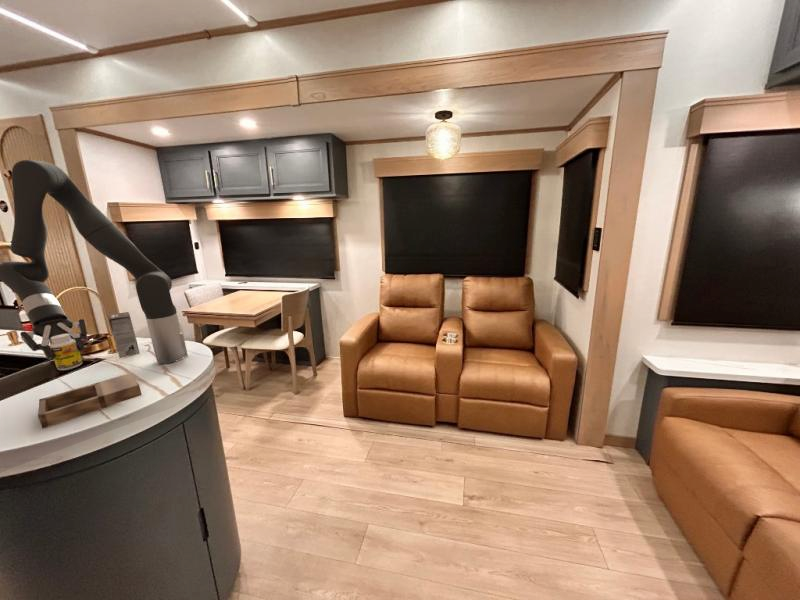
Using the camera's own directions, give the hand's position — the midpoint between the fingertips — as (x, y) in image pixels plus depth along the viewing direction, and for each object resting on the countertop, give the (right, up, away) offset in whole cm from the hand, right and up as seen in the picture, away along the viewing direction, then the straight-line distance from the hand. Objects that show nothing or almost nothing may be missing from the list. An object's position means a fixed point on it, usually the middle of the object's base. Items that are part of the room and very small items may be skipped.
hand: (67, 353), depth 95 cm
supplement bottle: (-1, -5, +2) cm, 5 cm away
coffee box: (-10, -6, +33) cm, 35 cm away
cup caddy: (+11, -14, -3) cm, 18 cm away
